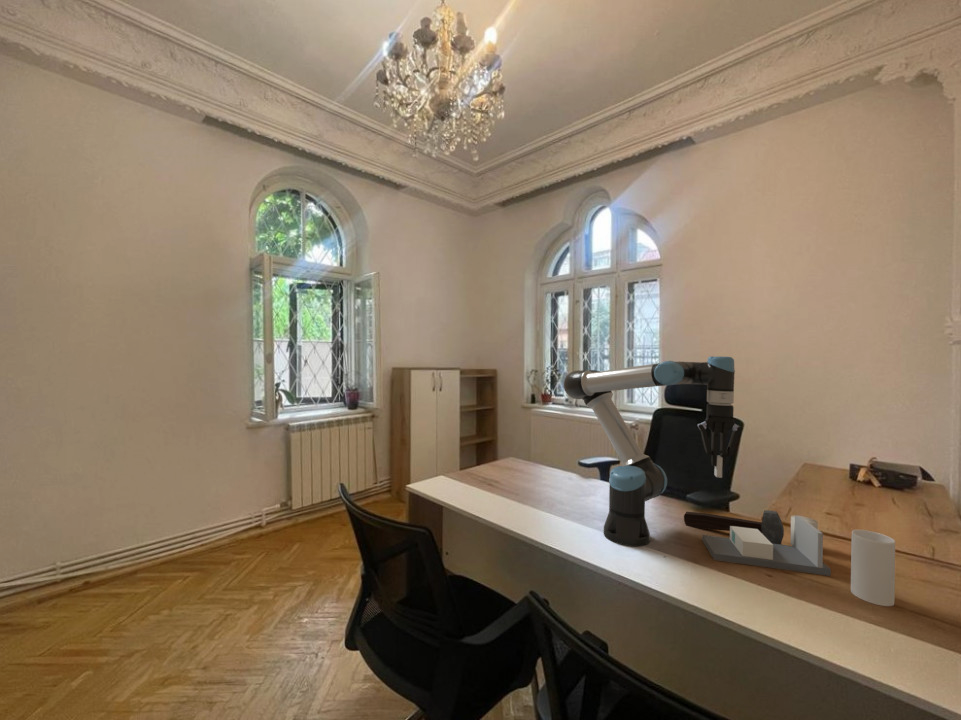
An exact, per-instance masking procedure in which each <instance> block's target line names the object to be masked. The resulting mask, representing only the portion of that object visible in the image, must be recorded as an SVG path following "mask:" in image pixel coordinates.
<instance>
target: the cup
mask: <svg viewBox="0 0 961 720" xmlns="http://www.w3.org/2000/svg"><path fill="white" fill-rule="evenodd" d="M850 547H851V550H850V553H851V555H850V556H851V557H850V558H851V559H850V560H851V561H850V564H851V565H850V592H851V594H852V595H853V596H855V597H856V598H859V599H861V600H862V601H865V602H867V603H870V604H873V605H877V606H882V607H893V606H894V605H895V589H896V588H895V587H896V586H895V585H896V584H895V583H896V581H895V579H896V540H895V539H894V538H893V537H890V536H889V535H885V534H883V533H879V532H876V531H872V530H866V529H853V530H852V531H851V546H850Z"/></svg>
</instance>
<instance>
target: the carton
mask: <svg viewBox="0 0 961 720" xmlns="http://www.w3.org/2000/svg"><path fill="white" fill-rule="evenodd" d="M729 538H730V540H731V542H732V543H733V544H734V545H735V547H736V548H737V549H738V551H739V552H740V553H741V554H742V556H747V557H755V558H762V559H770V560H773V544H772V543H771V542H770V541H769V540H768V539H767V538H766V537H765V536H764V535H763V534H762V533H761V532H760V531H759V530H758V529H752V528H744V527H735V526H730V531H729Z"/></svg>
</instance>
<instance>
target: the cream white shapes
mask: <svg viewBox="0 0 961 720" xmlns="http://www.w3.org/2000/svg"><path fill="white" fill-rule="evenodd" d="M799 516H800V517H801V518H803V519H804V520H805V521H807V522H808V523H810V524H811V525H812V526H814V527H815V528H816V529H818V528H819V527H818V526H819V522H818V520H815V519H814V518H811V517H808V516H807V517H806V516H803V515H799ZM818 530H819V529H818ZM794 532H795V515H791V516H790V546H794Z"/></svg>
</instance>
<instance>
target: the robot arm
mask: <svg viewBox="0 0 961 720" xmlns="http://www.w3.org/2000/svg"><path fill="white" fill-rule="evenodd" d="M735 372H736V370H735V359H734V358H733V357H731V356H709V357H707V361H704V362H702V361H700V362H698V361H673V360H665V361H662V362H659V363H652V364H644V365H635V366H629V367H622V368H616V369H609V370H607V369H606V370H602V371H601V370H595V369H590V370H573V371H571V372H569V373H568V374H567V375H566V377H565V378H564V380H563V389H564V391H565V394H567V395H568V396H569V397H570V398H572V399H575V400H583V402H584V405H585V406H586V407H587V408H589V409H591V410H592V411H593V413H594V415H595V416H596V418H597V420H598V422H599V424H600V426H601V428H602V429H603V432H604V433H605V435H606V436H607V438H608V440H609V442H610V444H611V445H612V447H613V449H614V451H615V452H616V455H617V457H618V458H619V460H620V462H621V465H619V466H615V467H613V469H611V471H610V473H609V479H608V482H609V483H608V484H609V485H608V486H609V493H608V494H609V500H608V501H609V502H608V505H609V509H608V514H607V516H606V520H605V523H604V524H603V537H604V536H605V538H606V539H607V540H609V541H612V542H613V543H616V544H619V545H622V546H628V547H630V546H631V547H641V546H643V547H644V546H646V545H647V544H649V543H650V542H651V541H650V540H651V537H650V536H651V534H650V530H649V527H648V524H647V519H646V515H645V514H646V512H645V511H646V502H647V501H650V500H652V499H655V498H657V497H659V496H660V495H661V494H663V493H664V492H665V490H666V488H667V485H668V477H667V475H666V474H667V473H666V472H665V471H664V469H663V468H662V467H661V466H660V465H658V464H656V463H654V461H653V460H652V458H651V457H650V456H649V455H646V454H644V453H643V451H642V450H641V448H640V446H639V444H638V443H637V440H636V438H634V435H633V434H632V432H631V431H630V429H629V427H628V425H627V424H626V422H625V420H624V418H623V417H622V415H621V413H620V412H619V410H618V408H617V406H616V405H615V403H614V401H613V399H612V398H613V395H614V393H613V392H614V391H623V390H624V391H625V390H632V389H633V390H634V389H643V388H652V387H654V388H655V387H664V386H674V385H704V386H706V402H707V404H706V412H705V413H706V417H705V418H704V421H703V422H701V423H697V424H696V426H697V428H698V430H699V431H700V437H701V439H702V444H703V449H704V450H705V453H706V454H707V455H710V456H711V459H710V460H711V462H710V463H711V466H713V467H714V469H713V471H714V473H713V474H714V476H715V477H716V478H721V479H722V478H723V468H726V465H727V462H726V461H727V458H728V457H731V456H733V455H734V452H735V448H736V444H737V442H738V439H739V437H740V434H741V432H743V430H744V429H743V428H744V427H742V426H740V425H738V424H736V421H735V420H734V408H735V407H734V405H733V404H734V402H735V401H734V400H735V399H734V398H735V389H734V388H735ZM707 427H708V428H709V430H710V434H711V446H710V442H709V437H708V432H707ZM731 429H732V432H731V435H730V438H729V442H728V433H729V431H730V430H731ZM719 435H720V436H719ZM719 441H720V443H719ZM727 443H728V444H727ZM718 447H719V450H718ZM718 451H719V455H718Z"/></svg>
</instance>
